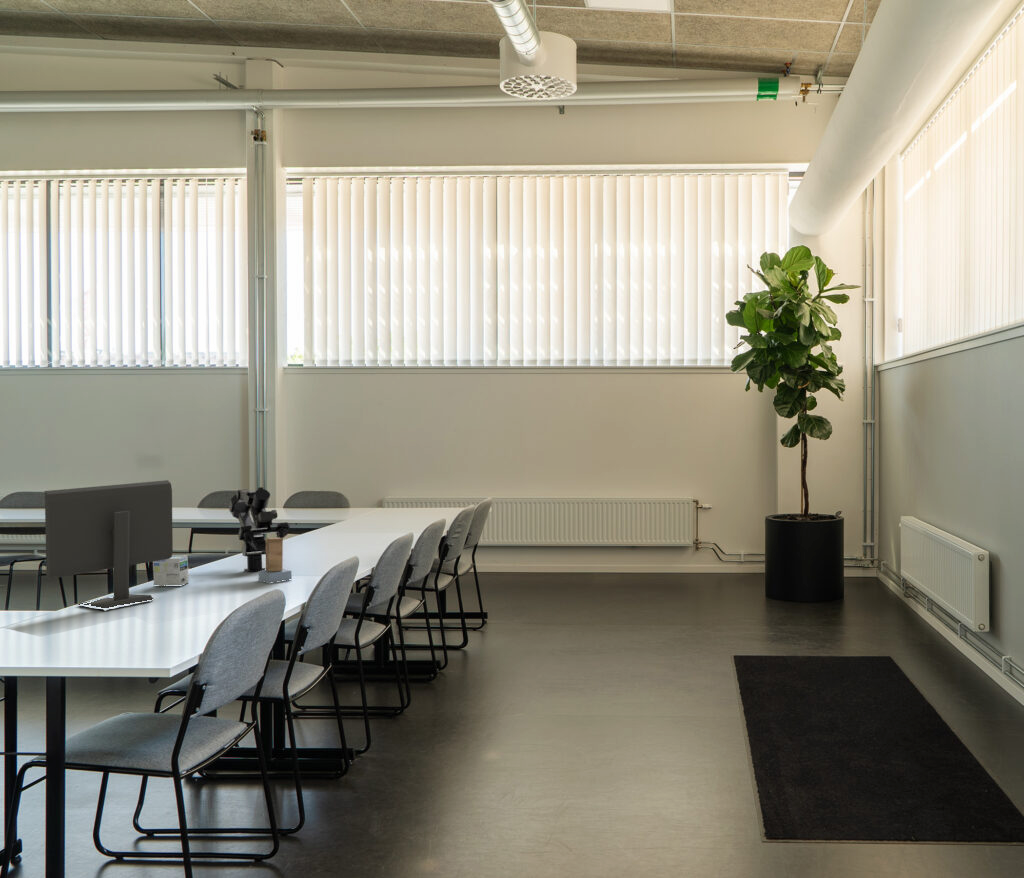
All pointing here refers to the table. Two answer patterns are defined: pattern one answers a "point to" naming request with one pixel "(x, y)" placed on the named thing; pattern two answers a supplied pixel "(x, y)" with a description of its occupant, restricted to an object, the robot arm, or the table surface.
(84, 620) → the table surface
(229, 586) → the table surface
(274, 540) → the walnut pillar
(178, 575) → the light bulb box
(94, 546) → the computer monitor
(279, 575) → the slate-blue block
